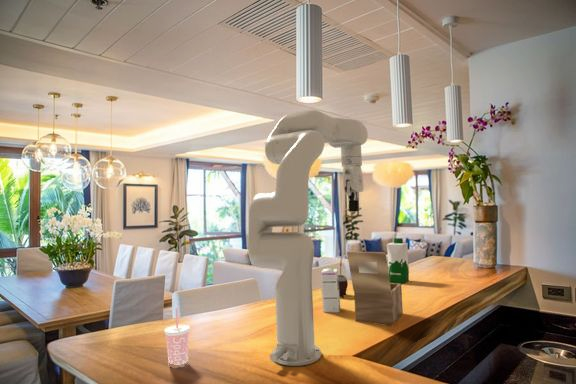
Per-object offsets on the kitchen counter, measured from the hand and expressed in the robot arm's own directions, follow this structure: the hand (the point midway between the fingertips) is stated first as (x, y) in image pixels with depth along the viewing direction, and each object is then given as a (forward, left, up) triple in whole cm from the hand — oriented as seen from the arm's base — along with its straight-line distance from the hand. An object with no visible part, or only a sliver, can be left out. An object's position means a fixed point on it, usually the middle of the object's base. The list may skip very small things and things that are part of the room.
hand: (353, 211), depth 142 cm
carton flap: (-20, -11, -18) cm, 30 cm away
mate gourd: (+12, +12, -35) cm, 39 cm away
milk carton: (+45, -5, -35) cm, 57 cm away
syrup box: (-9, +7, -35) cm, 37 cm away
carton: (-11, -11, -35) cm, 38 cm away
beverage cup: (-66, +25, -35) cm, 79 cm away
